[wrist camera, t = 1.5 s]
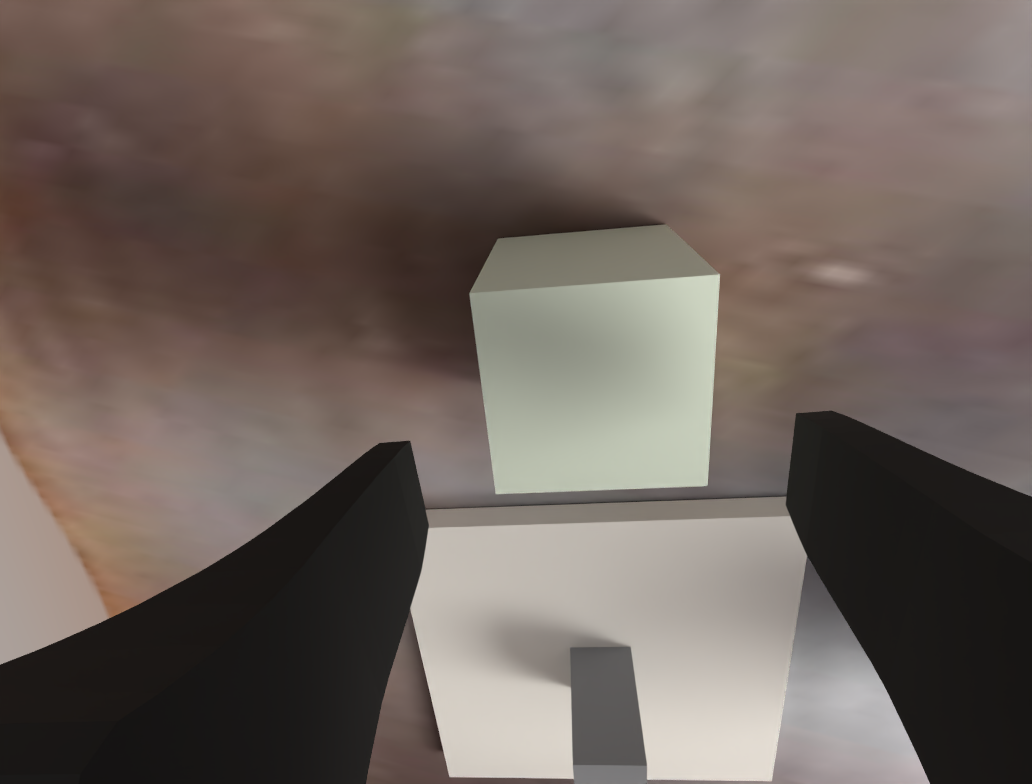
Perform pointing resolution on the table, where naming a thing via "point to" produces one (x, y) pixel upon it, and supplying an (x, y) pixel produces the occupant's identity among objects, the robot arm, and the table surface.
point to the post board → (610, 638)
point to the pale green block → (597, 360)
